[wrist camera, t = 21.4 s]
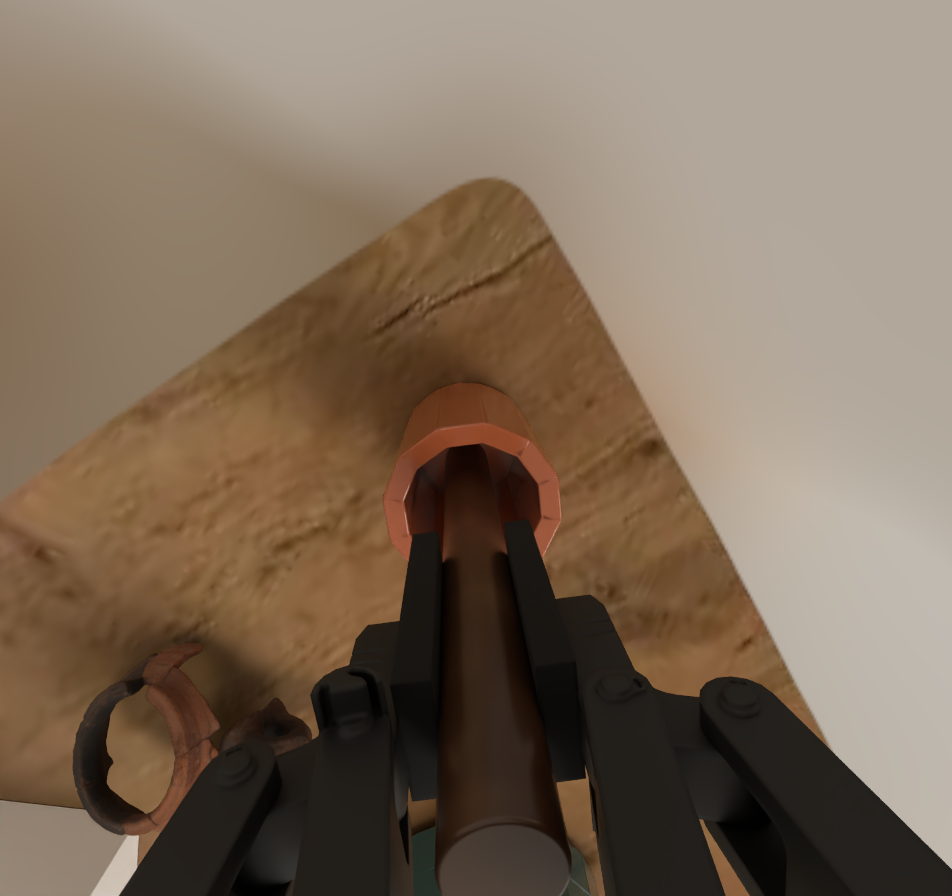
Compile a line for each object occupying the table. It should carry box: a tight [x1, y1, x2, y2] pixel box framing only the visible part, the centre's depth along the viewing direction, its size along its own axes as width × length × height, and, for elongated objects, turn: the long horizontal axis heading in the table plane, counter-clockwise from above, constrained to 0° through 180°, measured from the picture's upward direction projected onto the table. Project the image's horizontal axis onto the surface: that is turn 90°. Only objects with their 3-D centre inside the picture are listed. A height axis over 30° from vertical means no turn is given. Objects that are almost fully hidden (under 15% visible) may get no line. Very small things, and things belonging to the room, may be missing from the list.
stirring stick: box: [434, 444, 572, 896], centre depth 18 cm, size 2×2×20 cm
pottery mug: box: [73, 643, 312, 836], centre depth 31 cm, size 12×10×8 cm
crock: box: [383, 383, 562, 562], centre depth 26 cm, size 7×7×9 cm
